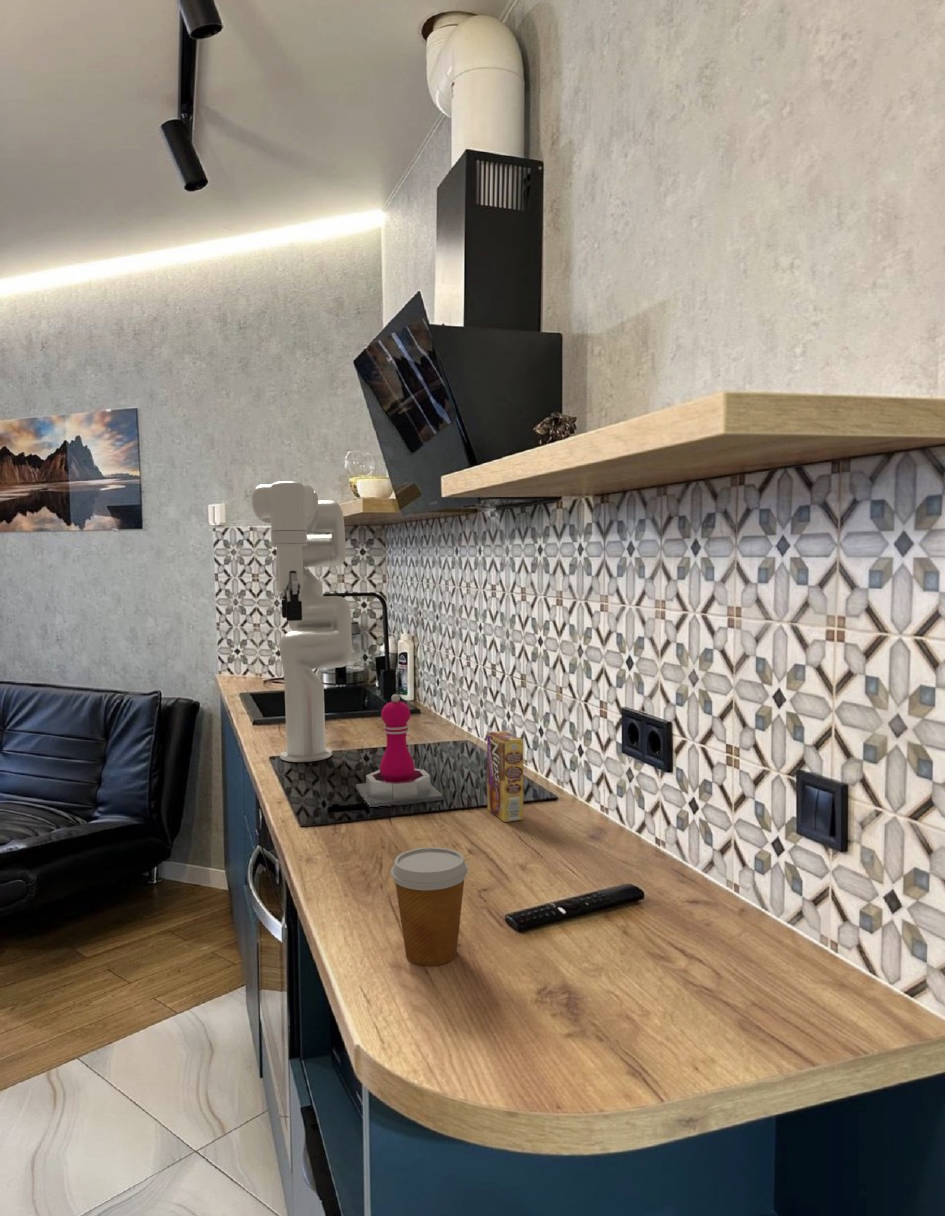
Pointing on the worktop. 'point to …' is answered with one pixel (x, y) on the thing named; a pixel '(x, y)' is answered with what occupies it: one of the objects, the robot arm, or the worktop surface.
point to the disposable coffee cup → (430, 902)
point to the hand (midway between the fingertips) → (291, 619)
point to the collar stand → (398, 790)
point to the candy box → (505, 776)
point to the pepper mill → (396, 742)
